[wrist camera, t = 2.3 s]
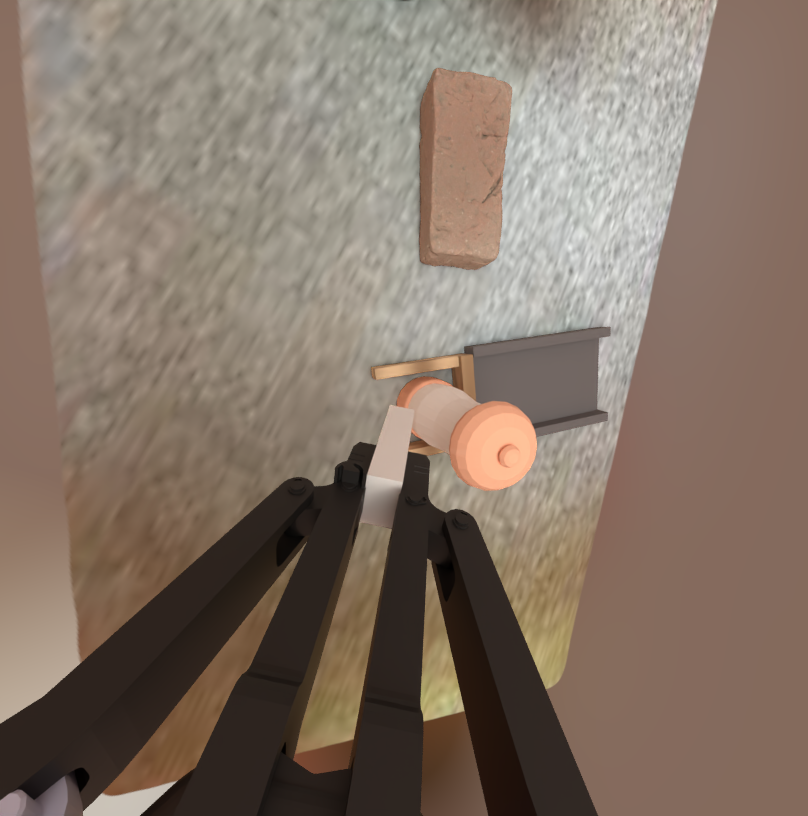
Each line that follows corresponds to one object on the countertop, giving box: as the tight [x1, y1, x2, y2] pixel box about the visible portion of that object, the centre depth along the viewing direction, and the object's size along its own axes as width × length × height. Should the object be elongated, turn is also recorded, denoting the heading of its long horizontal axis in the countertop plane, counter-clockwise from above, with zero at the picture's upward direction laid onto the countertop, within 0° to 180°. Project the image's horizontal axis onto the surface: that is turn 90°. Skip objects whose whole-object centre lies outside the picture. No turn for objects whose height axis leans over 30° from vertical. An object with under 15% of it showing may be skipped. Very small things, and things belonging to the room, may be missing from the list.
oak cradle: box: [371, 354, 476, 456], centre depth 38 cm, size 12×11×3 cm
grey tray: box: [464, 327, 611, 437], centre depth 42 cm, size 20×13×2 cm, turn 97°
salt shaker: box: [397, 376, 537, 490], centre depth 31 cm, size 7×7×19 cm
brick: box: [419, 68, 512, 270], centre depth 34 cm, size 17×8×5 cm, turn 0°
